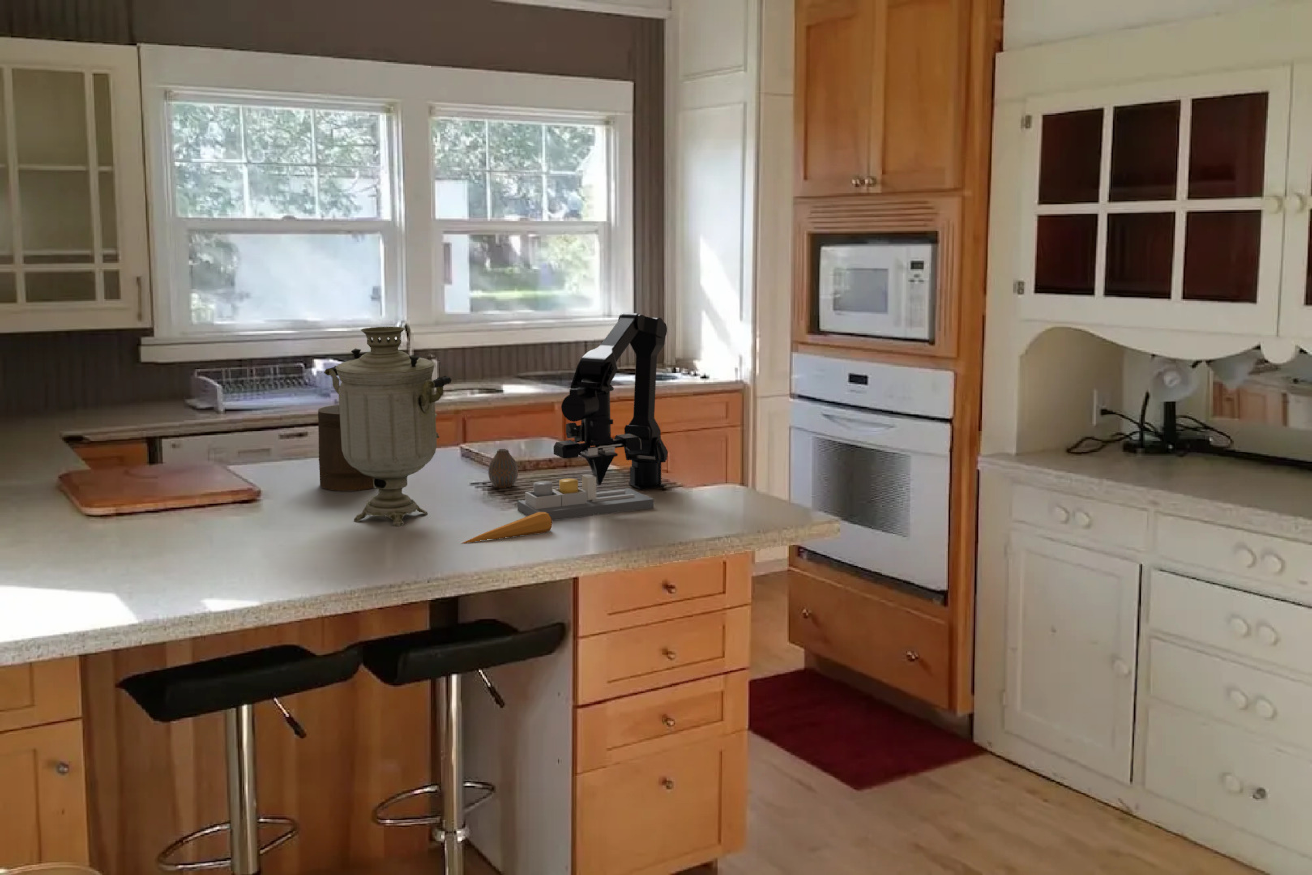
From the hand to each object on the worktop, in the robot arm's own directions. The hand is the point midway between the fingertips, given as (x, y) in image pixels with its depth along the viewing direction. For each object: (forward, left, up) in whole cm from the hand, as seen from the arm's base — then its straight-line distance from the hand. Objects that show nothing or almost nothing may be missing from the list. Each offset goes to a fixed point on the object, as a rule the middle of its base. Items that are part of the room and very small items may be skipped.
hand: (598, 484), depth 273 cm
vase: (+11, -29, -5) cm, 32 cm away
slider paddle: (+2, 0, -3) cm, 4 cm away
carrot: (+27, +14, -6) cm, 31 cm away
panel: (+3, 0, -5) cm, 6 cm away
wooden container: (+42, -47, -5) cm, 63 cm away
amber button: (+7, 0, -1) cm, 7 cm away
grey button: (+13, 0, -1) cm, 13 cm away
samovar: (+40, -12, -5) cm, 42 cm away
